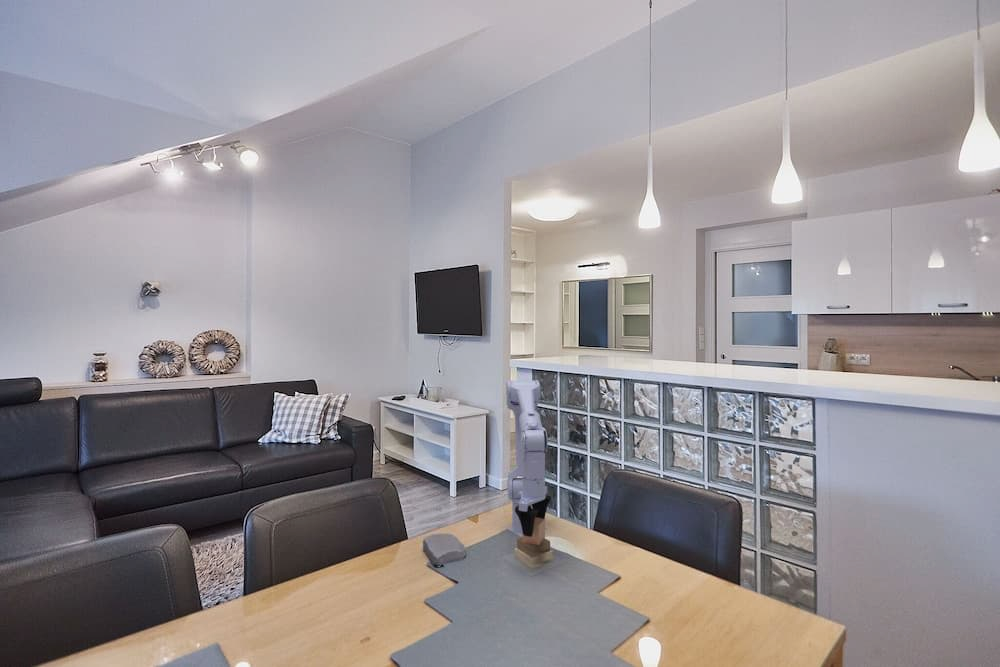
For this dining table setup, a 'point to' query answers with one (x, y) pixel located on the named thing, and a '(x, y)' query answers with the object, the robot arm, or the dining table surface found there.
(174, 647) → the dining table surface
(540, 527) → the terracotta block
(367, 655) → the dining table surface
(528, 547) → the walnut slab
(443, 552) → the stone block
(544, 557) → the beech slab
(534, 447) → the robot arm
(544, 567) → the felt mat
